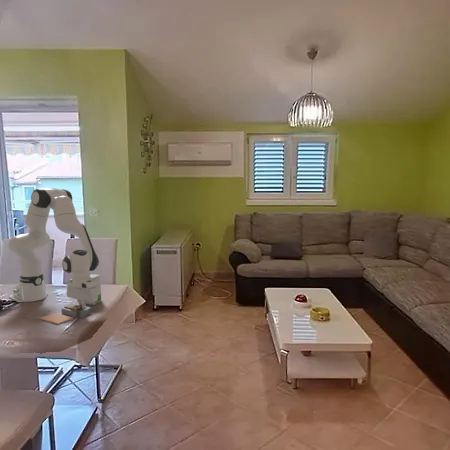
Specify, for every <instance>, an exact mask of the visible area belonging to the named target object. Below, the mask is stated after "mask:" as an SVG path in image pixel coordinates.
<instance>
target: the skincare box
mask: <svg viewBox="0 0 450 450" xmlns="http://www.w3.org/2000/svg"><path fill="white" fill-rule="evenodd" d="M90 278H92V279H93V280H94V281H96V282H97V284H98V285H97V286H96V287H97V289H98V300H97V301H96V302H93V303H91V302H87V303H86V305H90V306H91V305H96V304H99V303H100V302H102V289H101V288H102V286H101V285H102V284H101V274H90Z"/></svg>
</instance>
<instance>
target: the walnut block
mask: <svg viewBox="0 0 450 450" xmlns="http://www.w3.org/2000/svg"><path fill="white" fill-rule="evenodd" d="M75 304H76V303H71V304H67V305H64V306H63V308H67V309H71V310H75V311H81V310H83V308H80V307H79V304H78V305H75ZM84 309H85V308H84Z"/></svg>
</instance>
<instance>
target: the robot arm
mask: <svg viewBox="0 0 450 450" xmlns="http://www.w3.org/2000/svg"><path fill="white" fill-rule="evenodd" d="M30 200H31V201H30V203H29V206H28V209H27V212H26V217H25V221H24V223H25V225H26V226H27V228H29V229H28V232H26V233H21V234H16V235H14V236H12V237H11V238H10V239H9V240H8V249H9V250H10V252H11V253H13V254H15V255H16V257H17V258H18V260H19V263H20V272H21V275H19V276H18V277H19V282H18V283H17V284H16V285H15V286H14V287H13V290H12V291H13V293H12V294H10V295H9V296H8V298H10V299H11V300H13V301H15V302H17V303H27V302H29V303H30V302H37V301H41V300H45V299H46V298H47V297H48V295H49V293H48V292H47V287H46V282H45V281H44V273H43V264H42V263H43V262H42V260H41V259H40V258H38V257H37V256H36V255H35V252H36V251H39V250H43V249H45V248H47V247H48V246H49V245H50V243H51V236H50V235H49V233H47V228H46V227H47V223H48V219H49V215H50V211H51V210H52V211H53V218H54V223H55V225H56V228H57V229H58V230H59V231H60V232H62V233H65V234H69V235H72V236H75V237H77V238H78V239H79V241H80V243H81V246H82V248H83V249H76V250H74V251H72V253H71V254H68V255H65V257H64V258H63V259H62V261H61V262H62V264H61V265H62V270H63V271H64V272H66V273H68V274H71V275H72V276H71V279H69V280H68V281H67V285H66V296H67V297H68V298H70V299H75V300H77V304H78V305H79V307H80V308H83V309H84V308H86V307H87V304H86V303H87V302H91V303H93V302H96V301H97V300H98V289H97V287H96V286H97V285H98V284H97V282H96V281H94V280H93V279H92V278H90V275H91V274H90V272H93V271H96V269H97V268H98V266H99V264H100V260H99V256H98V255H97V253H96V251H95V249H94V247H93V243H92V241H91V238H90V236H89V233H88V231H87V228H86V226H85V225H84V224H83V223H81V222H80V220H79V219H78V217H77V213H76V209H75V206H74V203H73V196H72V193H71V192H70V191H69V190H67V189H64V188H63V189H62V188H61V189H60V188H55V187H54V188H53V187H52V188H43V187H41V188H40V187H39V188H35V189H34V190H33V191H32V193H31V196H30Z"/></svg>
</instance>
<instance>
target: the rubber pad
mask: <svg viewBox="0 0 450 450" xmlns="http://www.w3.org/2000/svg"><path fill="white" fill-rule="evenodd" d="M39 320H40V321H43V320H44V322H46V323H50V324H54V325H57V326H58V325H61V324H64V323H67V322H69V321H73V320H74V317H71V316H67V315H63V314H62V313H57V312H54V313H51V314H48V315H45V316H42V317H39Z"/></svg>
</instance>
